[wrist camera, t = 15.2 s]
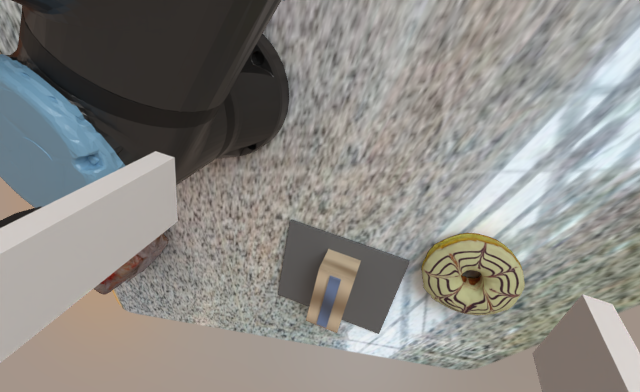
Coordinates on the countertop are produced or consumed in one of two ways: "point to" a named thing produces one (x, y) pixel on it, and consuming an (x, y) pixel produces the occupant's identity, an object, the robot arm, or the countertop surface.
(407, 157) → the countertop surface
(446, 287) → the decorated donut
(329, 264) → the card box
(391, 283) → the mat
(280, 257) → the countertop surface
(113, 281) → the food item
